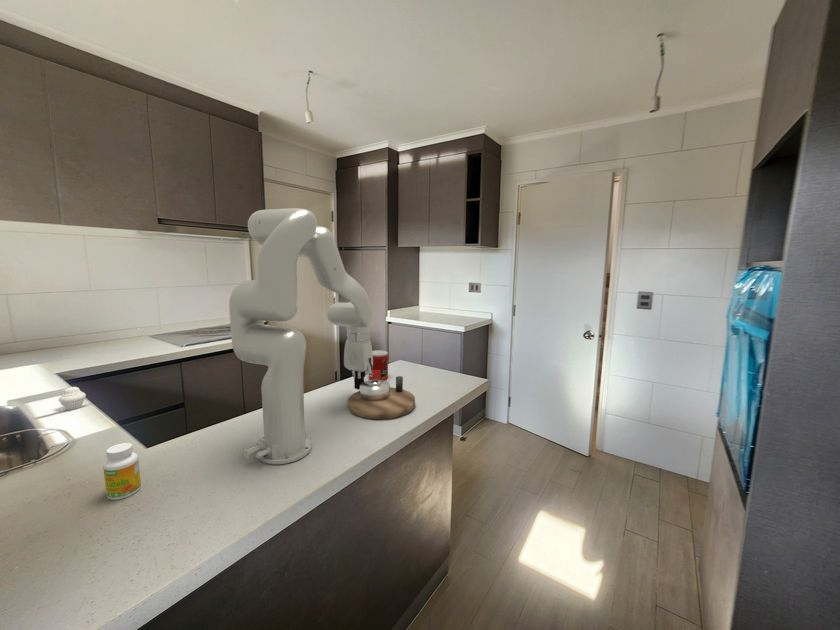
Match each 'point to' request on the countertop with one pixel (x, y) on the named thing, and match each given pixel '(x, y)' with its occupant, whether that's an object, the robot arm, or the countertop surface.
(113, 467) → the supplement bottle
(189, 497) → the countertop surface
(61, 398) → the muffin
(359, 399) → the turntable
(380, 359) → the canned food
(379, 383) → the cover
